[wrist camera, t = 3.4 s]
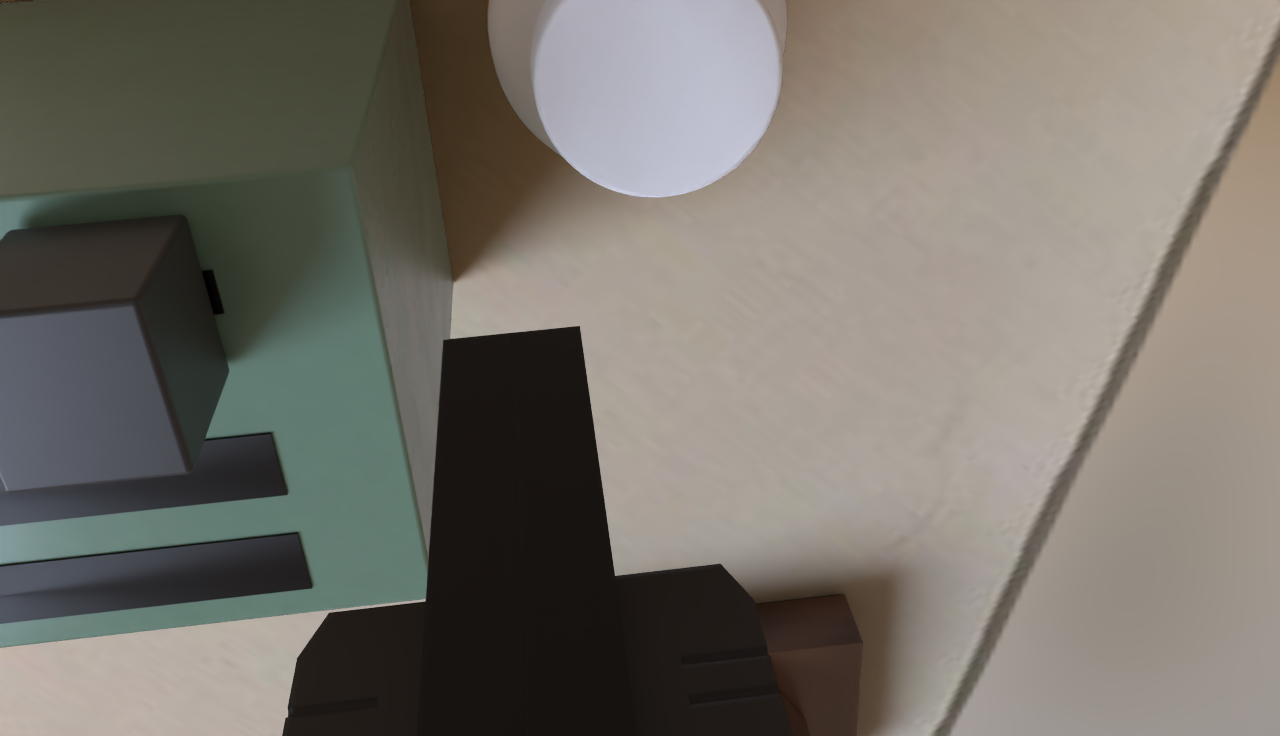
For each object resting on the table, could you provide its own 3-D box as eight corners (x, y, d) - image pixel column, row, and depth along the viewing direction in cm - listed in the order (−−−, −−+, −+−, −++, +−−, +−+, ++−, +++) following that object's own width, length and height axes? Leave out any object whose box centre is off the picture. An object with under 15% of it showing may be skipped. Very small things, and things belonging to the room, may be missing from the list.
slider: (186, 211, 16) (137, 300, 14) (232, 372, 17) (193, 476, 15) (6, 227, 16) (-73, 319, 13) (66, 389, 17) (3, 496, 15)
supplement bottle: (469, 45, 27) (461, 211, 19) (508, -204, 24) (519, -138, 16) (689, 88, 28) (773, 263, 20) (749, -145, 26) (875, -56, 17)
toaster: (405, -30, 26) (351, 167, 16) (453, 285, 30) (435, 601, 20) (-242, 21, 25) (-746, 264, 15) (-100, 338, 29) (-416, 699, 19)
